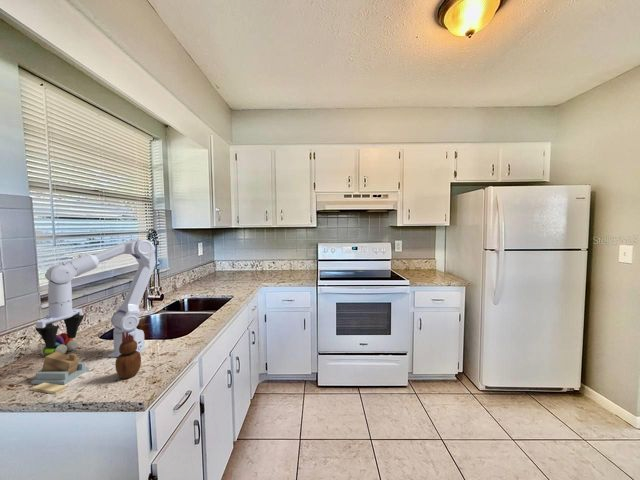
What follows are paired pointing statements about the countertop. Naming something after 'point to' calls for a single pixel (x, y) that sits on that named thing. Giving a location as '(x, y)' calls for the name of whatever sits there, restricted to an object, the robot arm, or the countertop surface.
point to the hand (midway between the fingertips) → (61, 342)
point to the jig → (59, 375)
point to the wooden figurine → (128, 357)
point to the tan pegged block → (61, 363)
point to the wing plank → (49, 388)
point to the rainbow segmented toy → (60, 345)
